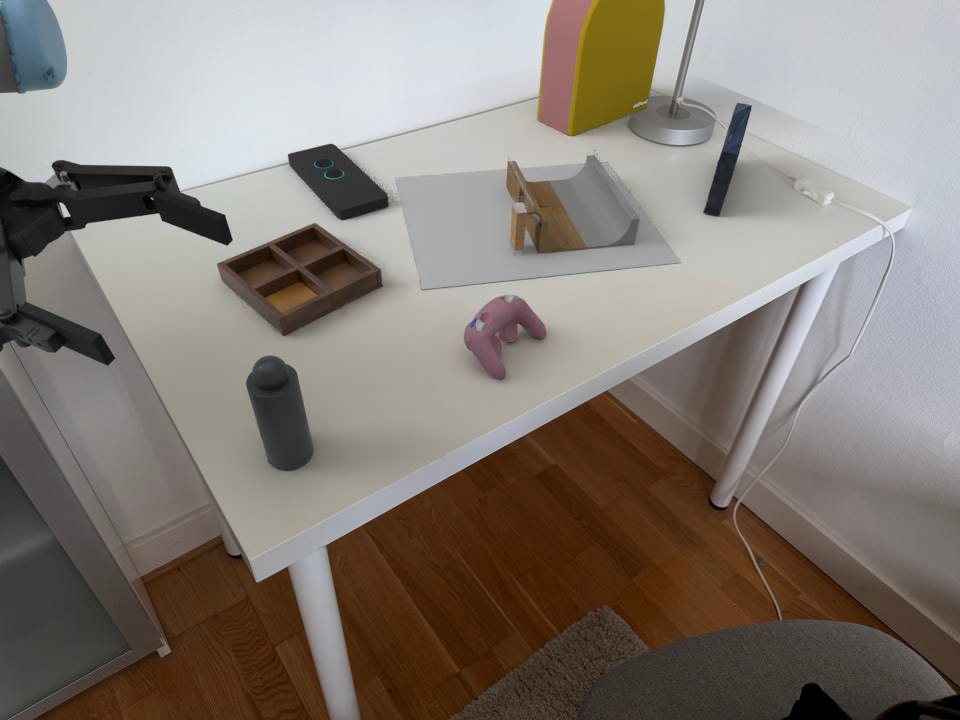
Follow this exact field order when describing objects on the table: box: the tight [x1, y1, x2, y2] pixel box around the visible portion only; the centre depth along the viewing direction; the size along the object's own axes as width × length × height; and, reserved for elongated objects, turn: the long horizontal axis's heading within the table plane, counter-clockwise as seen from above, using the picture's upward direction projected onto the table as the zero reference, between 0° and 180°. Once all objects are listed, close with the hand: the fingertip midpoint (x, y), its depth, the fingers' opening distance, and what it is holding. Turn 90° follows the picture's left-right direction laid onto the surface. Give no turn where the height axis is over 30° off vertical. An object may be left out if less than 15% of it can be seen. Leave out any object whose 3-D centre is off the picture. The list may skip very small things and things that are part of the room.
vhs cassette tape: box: [703, 102, 753, 217], centre depth 104 cm, size 18×3×10 cm, turn 157°
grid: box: [216, 222, 383, 337], centre depth 86 cm, size 14×14×3 cm
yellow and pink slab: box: [536, 0, 666, 137], centre depth 118 cm, size 21×9×26 cm, turn 130°
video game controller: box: [463, 294, 547, 380], centre depth 77 cm, size 10×5×7 cm, turn 144°
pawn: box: [245, 355, 314, 471], centre depth 62 cm, size 4×4×12 cm
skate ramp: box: [394, 149, 682, 290], centre depth 97 cm, size 29×35×8 cm
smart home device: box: [287, 143, 389, 221], centre depth 105 cm, size 8×2×20 cm
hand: (170, 286), depth 51 cm, fingers open, 13 cm apart
